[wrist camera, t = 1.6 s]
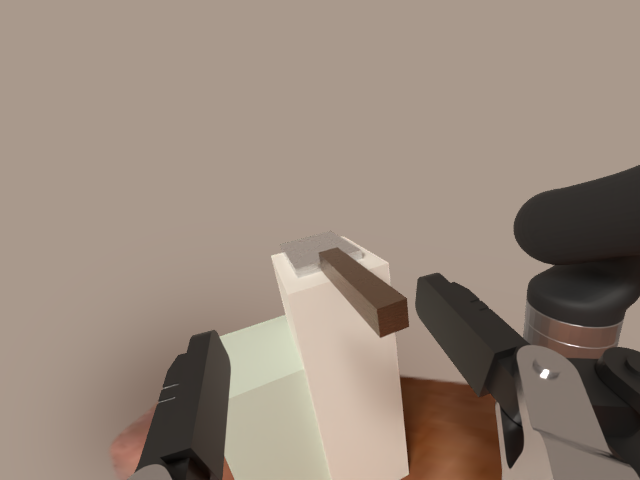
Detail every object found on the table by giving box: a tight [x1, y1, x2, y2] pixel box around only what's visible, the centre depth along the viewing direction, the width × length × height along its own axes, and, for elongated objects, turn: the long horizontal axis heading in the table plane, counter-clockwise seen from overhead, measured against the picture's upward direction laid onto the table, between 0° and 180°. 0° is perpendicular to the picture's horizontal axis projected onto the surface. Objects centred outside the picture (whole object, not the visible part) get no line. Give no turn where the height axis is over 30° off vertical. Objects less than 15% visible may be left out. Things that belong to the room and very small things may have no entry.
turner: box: [280, 231, 409, 338], centre depth 24 cm, size 7×20×2 cm, turn 19°
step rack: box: [220, 236, 409, 480], centre depth 33 cm, size 20×13×31 cm, turn 109°
